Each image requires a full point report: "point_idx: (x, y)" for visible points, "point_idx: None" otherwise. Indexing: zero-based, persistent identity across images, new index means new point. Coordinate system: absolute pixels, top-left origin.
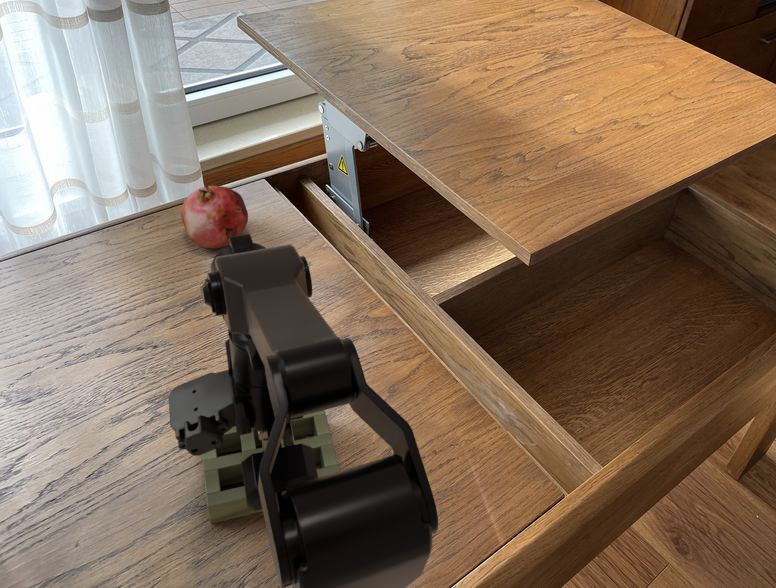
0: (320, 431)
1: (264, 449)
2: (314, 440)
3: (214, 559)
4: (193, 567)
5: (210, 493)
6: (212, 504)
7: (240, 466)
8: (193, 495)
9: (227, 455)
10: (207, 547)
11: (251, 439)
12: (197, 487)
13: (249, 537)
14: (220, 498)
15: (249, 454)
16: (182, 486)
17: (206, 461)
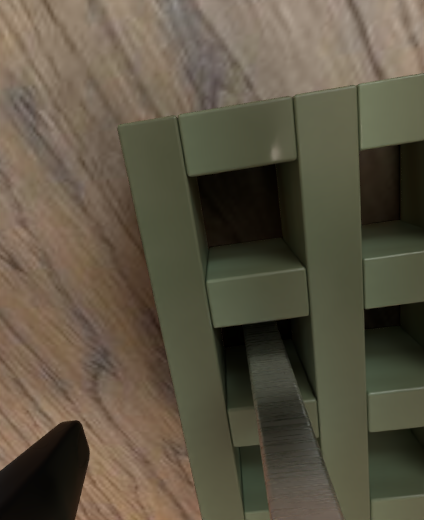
0: (385, 508)
1: (269, 505)
2: (353, 490)
3: (36, 154)
4: (10, 91)
5: (180, 134)
6: (128, 147)
7: (301, 246)
8: (256, 67)
9: (358, 197)
10: (73, 130)
11: (415, 292)
12: (284, 79)
13: (101, 250)
14: (151, 180)
15: (343, 286)
16: (297, 21)
17: (346, 103)
